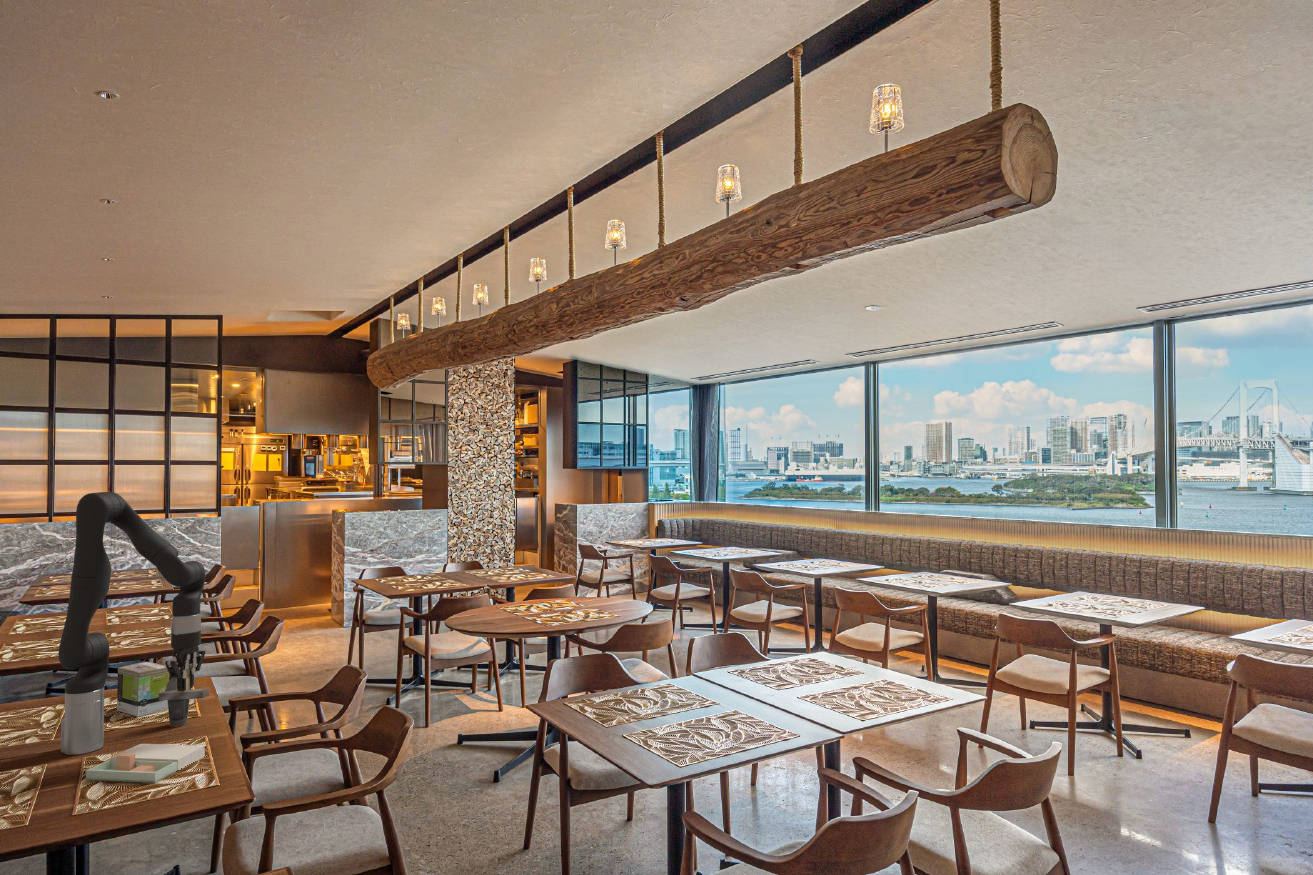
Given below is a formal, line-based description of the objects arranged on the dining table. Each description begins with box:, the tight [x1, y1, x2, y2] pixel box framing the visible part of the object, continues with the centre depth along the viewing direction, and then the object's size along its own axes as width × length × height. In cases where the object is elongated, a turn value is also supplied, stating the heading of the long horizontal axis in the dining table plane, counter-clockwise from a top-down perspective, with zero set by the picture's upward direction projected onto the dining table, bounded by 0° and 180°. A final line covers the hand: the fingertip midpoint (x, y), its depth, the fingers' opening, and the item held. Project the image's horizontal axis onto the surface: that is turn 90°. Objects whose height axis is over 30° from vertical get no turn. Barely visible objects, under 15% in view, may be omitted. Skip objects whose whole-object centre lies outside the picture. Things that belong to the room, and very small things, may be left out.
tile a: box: [116, 753, 135, 771], centre depth 202 cm, size 4×4×2 cm
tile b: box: [130, 765, 154, 772], centre depth 198 cm, size 4×4×2 cm
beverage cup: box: [165, 677, 190, 728], centre depth 240 cm, size 7×7×20 cm
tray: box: [85, 758, 178, 784], centre depth 199 cm, size 20×8×2 cm, turn 83°
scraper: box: [159, 665, 210, 700], centre depth 220 cm, size 14×2×10 cm, turn 83°
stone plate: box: [110, 743, 206, 771], centre depth 208 cm, size 20×10×3 cm, turn 83°
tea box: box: [116, 661, 170, 718], centre depth 255 cm, size 15×10×15 cm
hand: (185, 689), depth 220 cm, fingers closed on scraper, 2 cm apart
